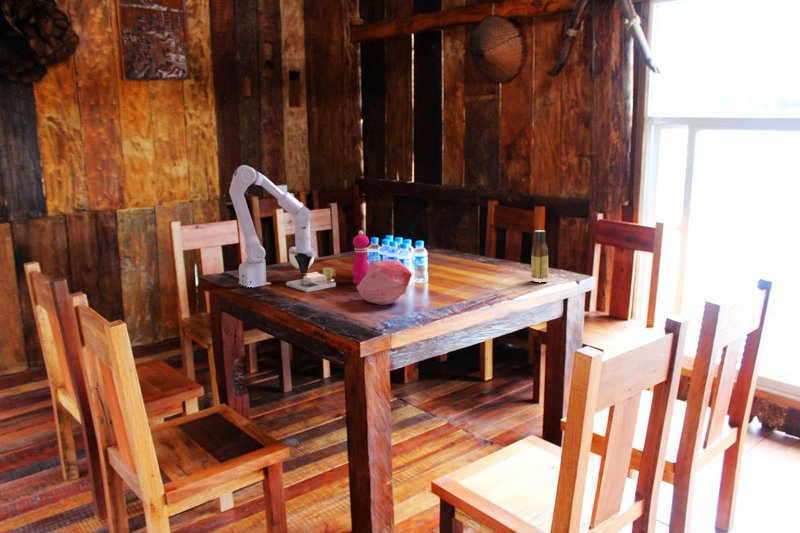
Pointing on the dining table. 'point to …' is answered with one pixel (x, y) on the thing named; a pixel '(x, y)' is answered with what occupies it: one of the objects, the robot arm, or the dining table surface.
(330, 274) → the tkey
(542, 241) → the sauce bottle
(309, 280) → the cream flat block
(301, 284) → the panel
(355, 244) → the pepper mill
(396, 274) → the decorative rock
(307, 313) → the dining table surface
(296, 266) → the lidded jar
